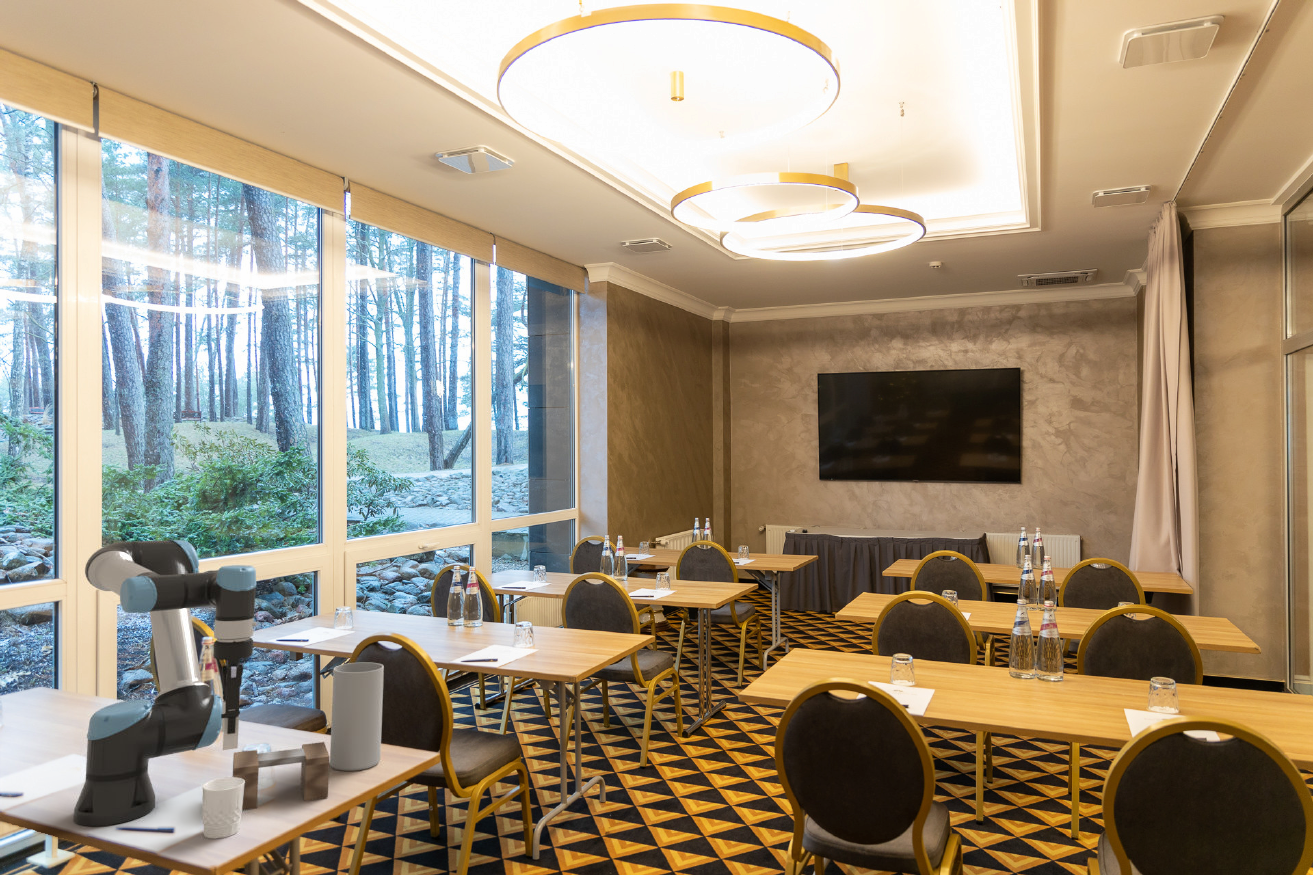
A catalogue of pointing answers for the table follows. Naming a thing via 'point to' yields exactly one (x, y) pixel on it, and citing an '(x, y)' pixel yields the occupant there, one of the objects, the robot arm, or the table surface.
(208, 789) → the white cup
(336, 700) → the cylinder vase
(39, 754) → the table surface
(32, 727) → the table surface
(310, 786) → the shelf
